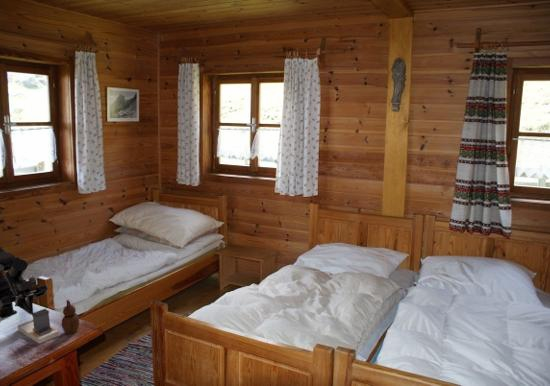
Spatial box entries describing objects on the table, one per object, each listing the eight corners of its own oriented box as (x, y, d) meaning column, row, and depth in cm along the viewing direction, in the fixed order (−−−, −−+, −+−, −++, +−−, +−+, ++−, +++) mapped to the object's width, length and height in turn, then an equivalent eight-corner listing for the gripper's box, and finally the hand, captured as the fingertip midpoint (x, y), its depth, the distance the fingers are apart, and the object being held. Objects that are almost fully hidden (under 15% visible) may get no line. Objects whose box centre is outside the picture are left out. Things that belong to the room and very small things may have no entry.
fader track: (18, 330, 195) (17, 325, 195) (37, 322, 202) (36, 318, 201) (39, 343, 185) (38, 338, 184) (58, 335, 191) (58, 330, 190)
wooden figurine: (72, 336, 190) (69, 302, 187) (60, 334, 192) (56, 300, 188) (82, 328, 197) (79, 295, 194) (70, 326, 198) (66, 294, 195)
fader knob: (32, 331, 190) (30, 312, 188) (45, 326, 194) (43, 307, 192) (39, 335, 186) (37, 316, 185) (52, 330, 191) (50, 311, 189)
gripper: (-3, 280, 186) (13, 313, 182) (43, 266, 200) (59, 297, 196) (-9, 293, 192) (6, 325, 188) (36, 279, 207) (51, 309, 203)
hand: (31, 313), depth 194 cm, fingers closed
